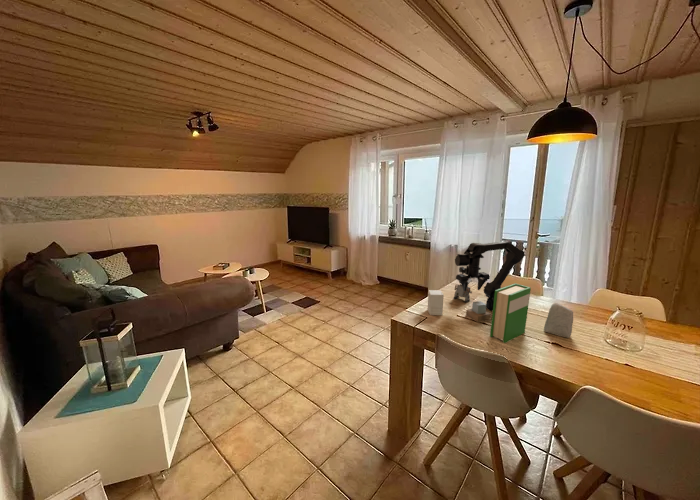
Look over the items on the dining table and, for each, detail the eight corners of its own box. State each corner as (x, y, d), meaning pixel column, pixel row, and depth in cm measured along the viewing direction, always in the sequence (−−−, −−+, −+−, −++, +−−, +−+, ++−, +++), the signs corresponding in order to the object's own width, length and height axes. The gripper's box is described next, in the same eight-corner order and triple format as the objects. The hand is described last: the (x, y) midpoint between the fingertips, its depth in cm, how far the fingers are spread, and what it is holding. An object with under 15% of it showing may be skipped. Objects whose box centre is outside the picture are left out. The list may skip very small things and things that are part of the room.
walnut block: (478, 313, 164) (478, 307, 163) (490, 320, 156) (491, 313, 155) (465, 316, 161) (466, 309, 160) (477, 323, 153) (478, 316, 152)
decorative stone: (572, 336, 138) (577, 307, 135) (568, 340, 134) (573, 311, 131) (546, 327, 146) (550, 300, 143) (542, 331, 142) (546, 303, 139)
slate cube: (479, 309, 160) (480, 301, 159) (485, 313, 155) (486, 304, 154) (471, 310, 159) (472, 301, 158) (477, 313, 154) (478, 305, 153)
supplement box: (439, 310, 168) (441, 290, 165) (442, 315, 161) (444, 294, 158) (427, 309, 169) (428, 289, 166) (429, 315, 162) (430, 294, 159)
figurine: (474, 299, 183) (476, 277, 180) (464, 303, 177) (466, 281, 173) (462, 295, 191) (463, 273, 187) (451, 299, 184) (453, 277, 181)
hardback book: (504, 343, 132) (510, 295, 127) (489, 336, 138) (494, 290, 133) (524, 332, 141) (530, 287, 136) (509, 326, 148) (515, 283, 142)
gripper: (478, 260, 172) (476, 284, 175) (451, 262, 167) (449, 287, 171) (491, 265, 161) (488, 291, 165) (462, 267, 157) (460, 294, 160)
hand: (471, 290), depth 165 cm, fingers open, 9 cm apart
